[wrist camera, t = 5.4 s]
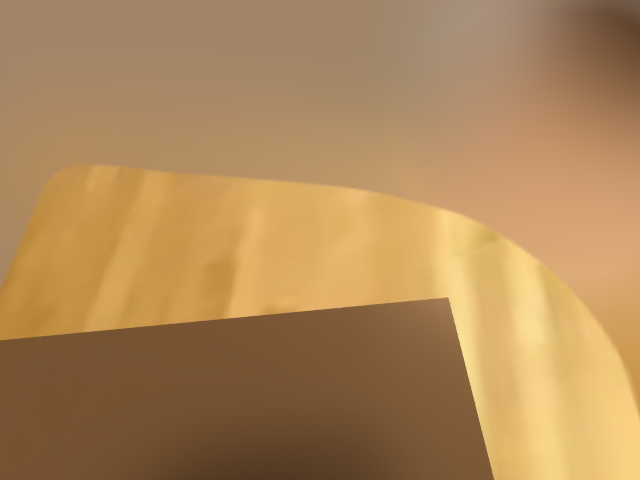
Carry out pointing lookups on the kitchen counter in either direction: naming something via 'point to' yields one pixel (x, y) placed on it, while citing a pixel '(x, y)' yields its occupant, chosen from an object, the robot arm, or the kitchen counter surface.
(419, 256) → the kitchen counter surface
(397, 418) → the bar
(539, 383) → the kitchen counter surface
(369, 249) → the kitchen counter surface
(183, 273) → the kitchen counter surface
